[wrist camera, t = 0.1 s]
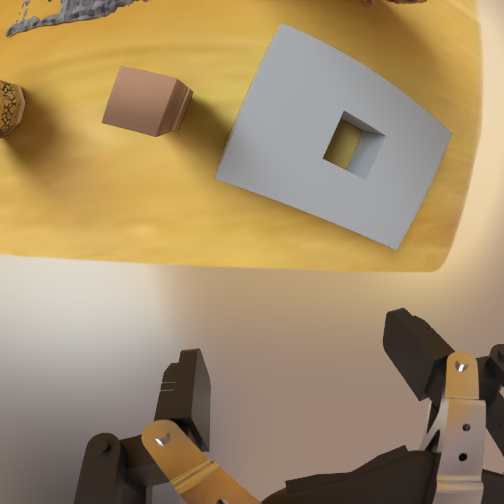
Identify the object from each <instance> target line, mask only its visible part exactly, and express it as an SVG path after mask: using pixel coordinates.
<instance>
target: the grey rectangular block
mask: <svg viewBox="0 0 504 504" xmlns="http://www.w3.org/2000/svg"><path fill="white" fill-rule="evenodd" d="M340 118H341V119H343V120H345V121H347V122H349V123H350V124H352V125H354V126H356V127H357V128H359V129H361V130H363V133H362V135H361V138H360V140H359V142H358V144H357V147H356V149H355V151H354V153H353V155H352V157H351V160H350V162H349V164H348V166H347V168H346V170H345V169H343V168H341V167H339V166H337V165H335V164H333V163H331V162H329V161H327V160H325V159H323V156H324V154H325V152H326V150H327V147H328V145H329V143H330V141H331V138H332V136H333V134H334V132H335V130H336V127H337V125H338V123H339V121H340ZM451 135H452V133H451V132H450V131H449V130H448V129H447V128H446V127H445V126H444V125H442V124H441V123H440V122H439V121H438V120H437V119H436V118H435V117H433V116H432V115H431V114H430V113H429V112H428V111H426V110H425V109H424V108H423V107H422V106H420V105H419V104H418V103H417V102H415V101H414V100H413V99H412V98H410V97H409V96H408V95H407V94H405V93H404V92H403V91H401V90H400V89H399V88H397V87H396V86H394V85H393V84H392V83H390V82H389V81H387V80H386V79H385V78H383V77H382V76H380V75H379V74H377V73H376V72H374V71H373V70H371V69H369V68H368V67H366V66H365V65H363V64H362V63H360V62H358V61H357V60H355V59H353V58H352V57H350V56H348V55H346V54H345V53H343V52H341V51H339V50H338V49H336V48H334V47H332V46H330V45H328V44H326V43H324V42H322V41H320V40H318V39H316V38H314V37H312V36H310V35H308V34H306V33H304V32H302V31H300V30H297V29H295V28H293V27H290V26H288V25H286V24H282V25H281V26H280V28H279V29H278V31H277V32H276V33H275V35H274V36H273V38H272V40H271V42H270V44H269V46H268V48H267V50H266V52H265V54H264V57H263V59H262V61H261V63H260V65H259V67H258V70H257V72H256V74H255V76H254V78H253V81H252V83H251V85H250V87H249V90H248V92H247V94H246V97H245V99H244V101H243V104H242V106H241V108H240V111H239V113H238V115H237V118H236V120H235V123H234V125H233V128H232V130H231V132H230V135H229V137H228V140H227V142H226V145H225V148H224V150H223V153H222V155H221V158H220V160H219V163H218V166H217V168H216V178H215V179H217V180H220V181H222V182H225V183H228V184H231V185H234V186H237V187H240V188H243V189H246V190H248V191H251V192H254V193H257V194H259V195H262V196H265V197H268V198H270V199H273V200H276V201H278V202H281V203H284V204H286V205H289V206H292V207H294V208H297V209H299V210H302V211H305V212H307V213H310V214H312V215H315V216H317V217H320V218H322V219H325V220H327V221H330V222H332V223H334V224H337V225H339V226H342V227H344V228H347V229H349V230H351V231H354V232H356V233H358V234H361V235H363V236H365V237H368V238H370V239H372V240H374V241H377V242H379V243H381V244H383V245H386V246H388V247H390V248H392V249H395V250H397V249H398V247H399V245H400V243H401V241H402V240H403V238H404V236H405V234H406V232H407V231H408V229H409V227H410V225H411V223H412V221H413V219H414V217H415V215H416V214H417V212H418V210H419V208H420V206H421V204H422V202H423V200H424V197H425V195H426V193H427V191H428V189H429V187H430V185H431V183H432V180H433V178H434V176H435V174H436V172H437V169H438V167H439V165H440V162H441V160H442V158H443V155H444V153H445V150H446V148H447V145H448V143H449V140H450V138H451Z"/></svg>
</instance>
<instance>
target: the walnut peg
mask: <svg viewBox="0 0 504 504" xmlns="http://www.w3.org/2000/svg"><path fill="white" fill-rule="evenodd" d="M192 94H193V91H192V90H191V89H190V88H189V87H187V86H186V85H184V84H183V83H182V82H181V81H179V80H178V79H176V78H173V77H169V76H165V75H161V74H157V73H152V72H148V71H143V70H139V69H134V68H129V67H123V66H121V67H120V70H119V72H118V75H117V78H116V80H115V83H114V86H113V89H112V92H111V95H110V98H109V101H108V104H107V107H106V110H105V113H104V117H103V120H102V123H104V124H108V125H112V126H116V127H120V128H124V129H128V130H132V131H135V132H139V133H143V134H146V135H150V136H154V137H157V136H160V135H163V134H166V133H168V132H171V131H172V132H174V130H177V129H179V128H180V126H181V123H182V120H183V117H184V115H185V112H186V110H187V107H188V104H189V102H190V99H191V97H192Z"/></svg>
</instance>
